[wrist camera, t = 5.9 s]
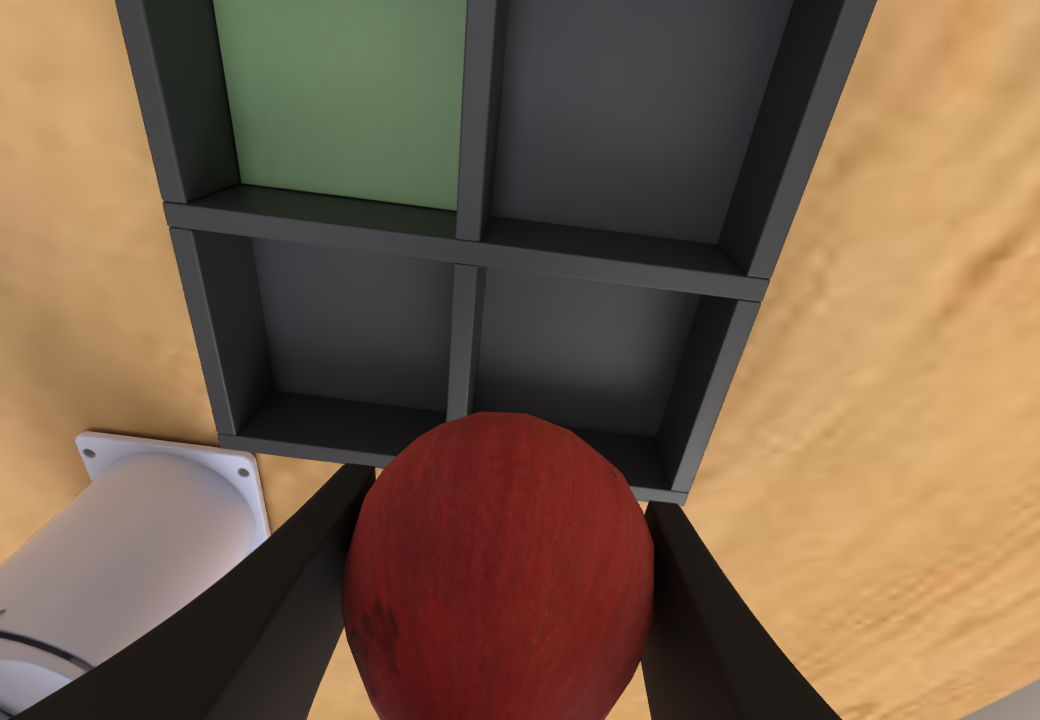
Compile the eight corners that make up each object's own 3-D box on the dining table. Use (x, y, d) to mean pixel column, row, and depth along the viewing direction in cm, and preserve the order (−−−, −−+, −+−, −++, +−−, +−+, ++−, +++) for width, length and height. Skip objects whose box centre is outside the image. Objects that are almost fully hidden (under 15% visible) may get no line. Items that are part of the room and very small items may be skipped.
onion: (473, 543, 15) (403, 942, 8) (358, 398, 13) (125, 790, 6) (660, 483, 14) (770, 917, 7) (569, 304, 11) (593, 694, 4)
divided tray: (665, 445, 22) (684, 507, 19) (266, 395, 22) (220, 449, 19) (835, -68, 13) (919, -107, 10) (175, -155, 13) (60, -222, 10)
